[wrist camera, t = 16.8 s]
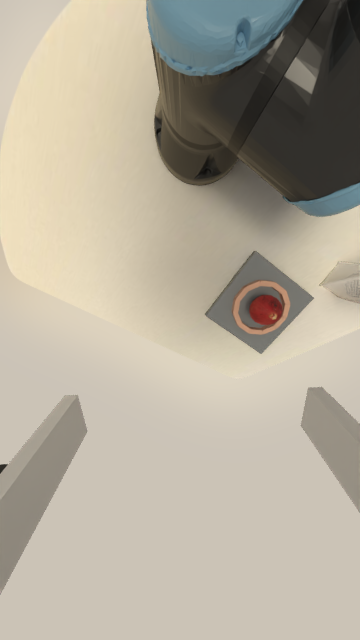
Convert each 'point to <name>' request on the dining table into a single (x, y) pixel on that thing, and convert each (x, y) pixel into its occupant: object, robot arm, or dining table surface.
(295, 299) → the dock
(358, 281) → the skyscraper
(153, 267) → the dining table surface
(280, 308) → the red rounded fruit
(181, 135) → the robot arm
